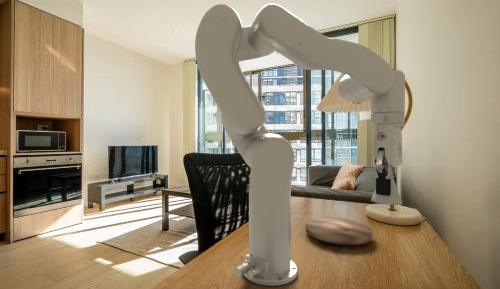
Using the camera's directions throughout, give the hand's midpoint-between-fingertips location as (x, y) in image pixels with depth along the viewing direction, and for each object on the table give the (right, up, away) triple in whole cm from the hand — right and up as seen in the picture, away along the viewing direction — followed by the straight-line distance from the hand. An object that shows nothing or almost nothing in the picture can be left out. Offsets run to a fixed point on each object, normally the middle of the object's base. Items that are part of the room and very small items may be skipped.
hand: (386, 192), depth 64 cm
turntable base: (-7, -17, +16) cm, 25 cm away
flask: (0, -3, 0) cm, 3 cm away
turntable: (-7, -16, +16) cm, 24 cm away
